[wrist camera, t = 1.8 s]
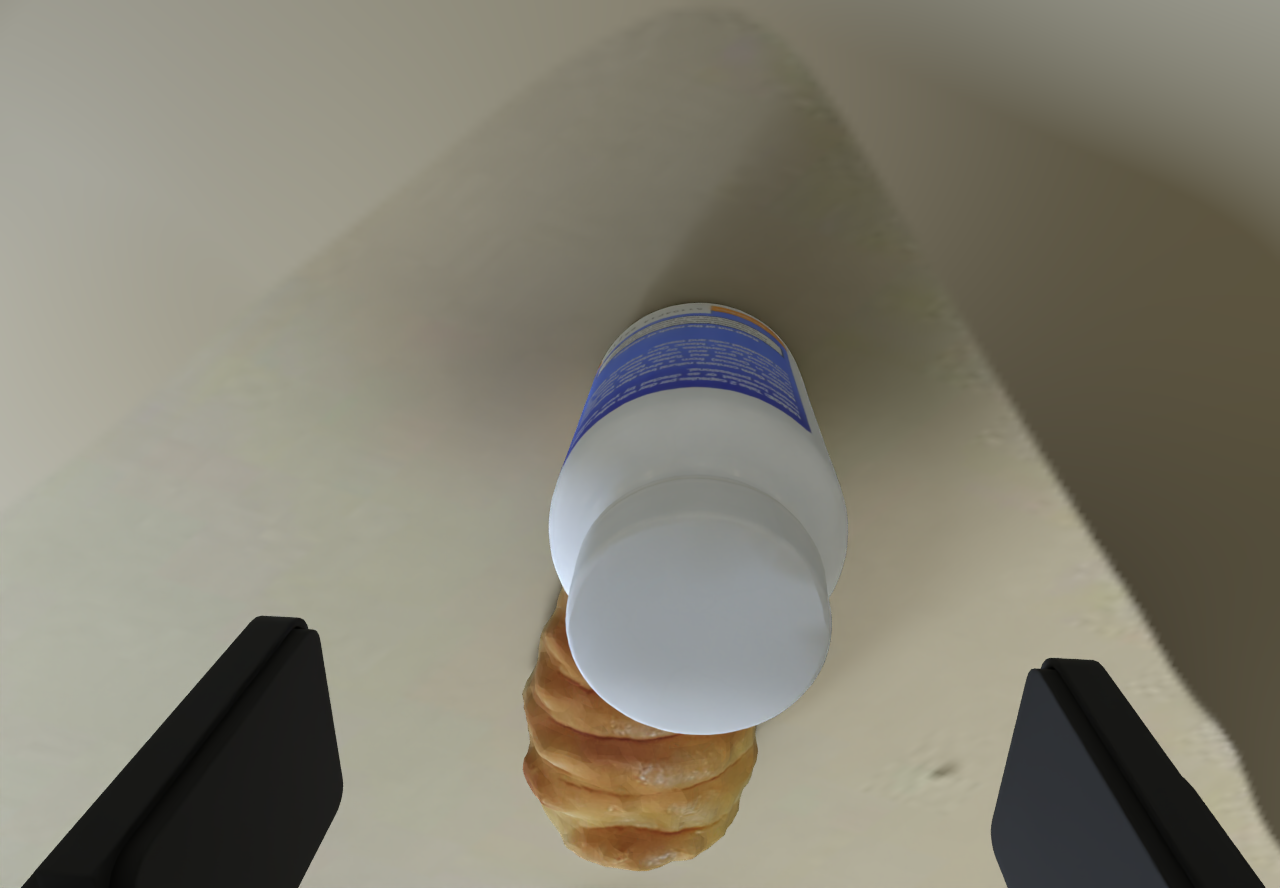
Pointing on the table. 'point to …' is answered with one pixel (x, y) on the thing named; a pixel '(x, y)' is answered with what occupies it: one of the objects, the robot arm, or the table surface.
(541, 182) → the table surface
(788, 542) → the pill bottle
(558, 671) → the pastry
